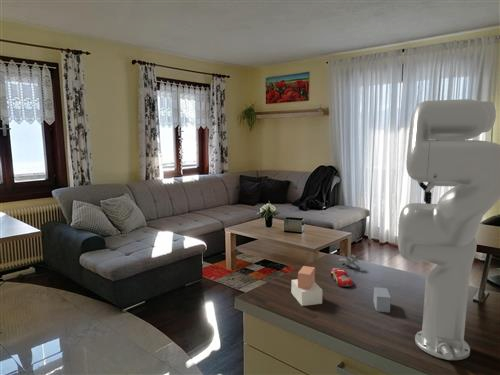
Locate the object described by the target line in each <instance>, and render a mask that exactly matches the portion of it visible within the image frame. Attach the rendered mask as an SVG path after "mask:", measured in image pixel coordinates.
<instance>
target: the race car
mask: <svg viewBox="0 0 500 375" xmlns="http://www.w3.org/2000/svg"><path fill="white" fill-rule="evenodd" d="M330 277H331V278H332V279H333V281H334V282H335V283H336V284H337V286H338V287H342V288H351V287H353V282H354V281H353V280H352V279H351V275H350V274H348V273H347V272H346V270H345V269H343V268H340V267H339V268H332V269H331V271H330Z"/></svg>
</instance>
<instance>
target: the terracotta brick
mask: <svg viewBox="0 0 500 375" xmlns="http://www.w3.org/2000/svg"><path fill="white" fill-rule="evenodd" d="M315 274H316V267H313V266H306V265H303V266H302V267H301V268H300V269H299V270H298V272H297V279H298V288H304V289H310V288H311V287H312V285H313V283H314V282H315V283H316V281H315V280H316V279H315V277H316V276H315Z"/></svg>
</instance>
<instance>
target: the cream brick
mask: <svg viewBox="0 0 500 375" xmlns="http://www.w3.org/2000/svg"><path fill="white" fill-rule="evenodd" d="M290 289H291V291H290V294H292V296H293V297H294V298H295V300H297V302H298V303H299V304H300V306H302V307H303V306H313V305H321V304H323V289H322V288H321V287H320V286H319V285H318V284H317V283H316V281H315V282H314V283H313V285H312V287H311V288H310V289H304V288H298V278H297V279H291V287H290Z"/></svg>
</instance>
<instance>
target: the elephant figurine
mask: <svg viewBox="0 0 500 375" xmlns="http://www.w3.org/2000/svg"><path fill="white" fill-rule="evenodd" d="M341 256H342V257H343V258H339V259H338V261H339V263H341V265H343V268H344V267H346V266H350V265H354V266H355V267H356V268H357V269H360V266H359V264H356V263H359V259H357V256H356V255H354V254H351V255H350V257H348V256H346V255H345V253H344V252H343V253H341Z"/></svg>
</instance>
